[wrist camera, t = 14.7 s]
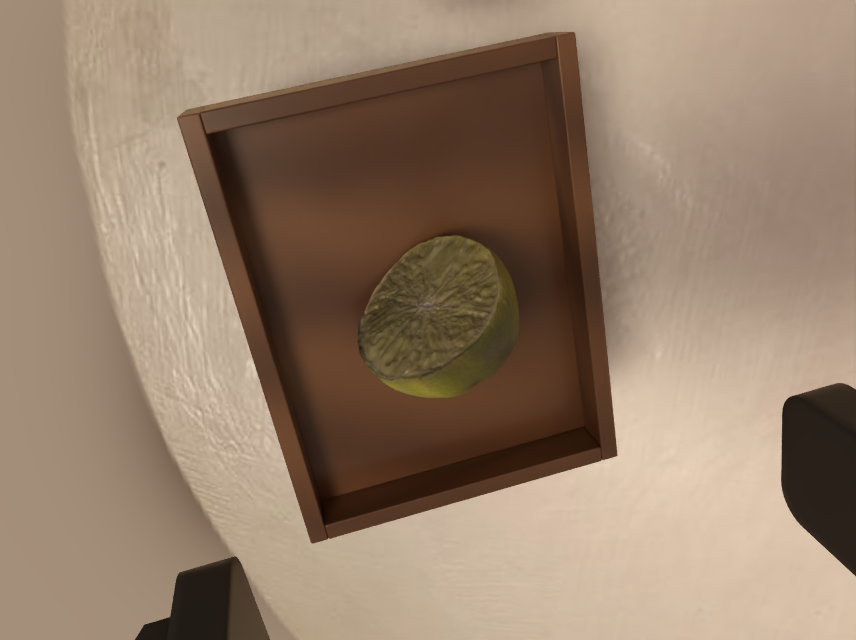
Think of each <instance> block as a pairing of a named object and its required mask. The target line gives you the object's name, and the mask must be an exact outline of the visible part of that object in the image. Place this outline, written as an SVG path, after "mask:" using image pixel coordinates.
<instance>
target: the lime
mask: <svg viewBox="0 0 856 640" xmlns="http://www.w3.org/2000/svg"><path fill="white" fill-rule="evenodd" d="M518 334H519V309H518V302H517V297H516V292H515V288H514V285H513V281H512V279H511V277H510V275H509V273H508V271H507V269H506V268H505V266H504V264H503V262H502V261H501V260H500V259H499V257H498V256H497V255H496V254H495V253H494V252H493V251H492V250H491V249H490V248H488V247H486V246H485V245H483V244H481V243H479V242H477V241H475V240H473V239H469V238H465V237H463V236H459V235H452V236H445V237H435V238H434V239H432V240H428V241H427V242H422V243H419V244H418V245H416V246H415V247H413V248H411V249H410V250H409V251H408V252H406V253H405V254H404V255H403V256H402V258H401V259H400V260H399V261H398V262H397V263H395V265H394V266H393V267H392V268H391V269H390V270H389V271H388V272H387V273H386V275H385V276H384V277H383V279H382V280H381V282H380V283H379V285H378V286H377V287H376V288H375V290H374V292H373V294H372V296H371V298H370V300H369V303H368V305H367V307H366V309H365V315H364V316H363V318H361V320H360V322H359V325H358V337H359V339H358V341H357V343H358V345H359V353H360V355H361V358H362V359H363V360H364V362H365V364H366V366H367V367H368V368H369V369H370V370H371V371H372V372H373V373H374V374H375V375H376V376H377V377H378V378H379V379H380V380H381V381H382V382H383V383H385V384H386V385H388V386H389V387H391V388H393V389H395V390H397V391H400V392H403V393H406V394H410V395H413V396H418V397H425V398H450V397H455V396H458V395H461V394H464V393H466V392H468V391H469V390H471V389H472V388H473V387H474V386H475V385H477V384H478V383H479V382H481V381H483V380H486V379H489V378H490V377H492V376H493V375H494V374H496V372H497V371H498V370H499V369H500V368H501V367H502V365H503V364H504V363H505V361H506V360H507V358H508V357H509V355H510V354H511V352H512V350H513V348H514V346H515V344H516V342H517V340H518Z"/></svg>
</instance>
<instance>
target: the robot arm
mask: <svg viewBox="0 0 856 640" xmlns="http://www.w3.org/2000/svg"><path fill="white" fill-rule="evenodd" d="M781 484H782V491H783V495H784V498H785V501H786V503H787V505H788V507H789V509H790V511H791V513H792V514H793V516H794V517H795V519H796V520H797V521H798V523H799V524H800V525H801V526H802V527H803V528H804V529H805V530H807V531H808V532H809V533H810V534H811V535H812V536H813V537H814V538H815V539H816V540H817V541H818V542H819V543H821V544H822V545H823V546H824V547H825V548H826V549H827V550H828V551H829V552H830V553H831V554H832V555H833V556H835V557H836V558H837V559H838V560H839V561H840V562H841V563H842V564H843V565H844V566H845V567H846V568H847V569H849V570H850V571H851V572H852V573H853V574H854V575H855V576H856V389H854V388H852V387H851V386H849V385H846V384H843V383H836V384H832V385H829V386H826V387H822V388H819V389H815V390H812V391H808V392H805V393H801V394H798V395H795V396H791V397H789V398H788V399H787V400H786V401H785V403H784V406H783V412H782V470H781ZM135 640H270V639H269V636H268V633H267V630H266V628H265V625H264V622H263V620H262V617H261V614H260V612H259V609H258V607H257V604H256V601H255V598H254V596H253V593H252V591H251V588H250V585H249V583H248V580H247V577H246V575H245V572H244V569H243V567H242V565H241V563H240V561H239V559H238V558H237V557H231V558H228V559H224V560H221V561H218V562H214V563H211V564H207V565H204V566H200V567H197V568H193V569H190V570H187V571H183V572H180V573H179V574H178V576H177V579H176V584H175V591H174V597H173V604H172V610H171V616H170V617H169V618H166V619H163V620H159V621H156V622H153V623H149V624H146V625H144V626H143V628H142V629H141V631H140V633H139V634H138V636H137V638H136V639H135Z"/></svg>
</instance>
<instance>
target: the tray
mask: <svg viewBox="0 0 856 640" xmlns="http://www.w3.org/2000/svg"><path fill="white" fill-rule="evenodd" d="M177 120H178V123H179V126H180V129H181V133H182V136H183V139H184V142H185V145H186V148H187V152H188V155H189V158H190V161H191V164H192V167H193V171H194V174H195V177H196V180H197V183H198V186H199V190H200V193H201V196H202V199H203V202H204V205H205V209H206V212H207V215H208V218H209V221H210V224H211V228H212V231H213V234H214V237H215V240H216V243H217V247H218V250H219V253H220V256H221V259H222V262H223V266H224V269H225V272H226V275H227V278H228V281H229V285H230V288H231V291H232V294H233V297H234V300H235V304H236V307H237V310H238V313H239V316H240V319H241V323H242V326H243V329H244V332H245V335H246V338H247V342H248V345H249V348H250V351H251V354H252V357H253V361H254V364H255V367H256V370H257V373H258V376H259V379H260V383H261V386H262V389H263V392H264V395H265V398H266V402H267V405H268V408H269V411H270V414H271V417H272V421H273V424H274V427H275V430H276V433H277V436H278V440H279V443H280V446H281V449H282V452H283V455H284V459H285V462H286V465H287V468H288V471H289V474H290V478H291V481H292V484H293V487H294V490H295V493H296V497H297V500H298V503H299V506H300V509H301V512H302V516H303V519H304V522H305V525H306V528H307V531H308V535H309V538H310V541H311V543H316V542H320V541H323V540H327V539H328V538H329V539H330V538H334V537H337V536H341V535H344V534H348V533H351V532H355V531H358V530H362V529H365V528H369V527H372V526H376V525H379V524H383V523H386V522H390V521H393V520H397V519H400V518H403V517H407V516H410V515H414V514H417V513H421V512H424V511H428V510H431V509H435V508H438V507H442V506H445V505H449V504H452V503H456V502H459V501H463V500H466V499H470V498H473V497H477V496H480V495H484V494H487V493H491V492H494V491H498V490H501V489H504V488H508V487H511V486H515V485H518V484H522V483H525V482H529V481H532V480H536V479H539V478H543V477H546V476H550V475H553V474H557V473H560V472H564V471H567V470H571V469H574V468H578V467H581V466H585V465H588V464H592V463H595V462H599V461H601V460H605V459H609V458H612V457H616V456H617V446H616V436H615V426H614V416H613V406H612V396H611V386H610V376H609V366H608V356H607V346H606V336H605V326H604V317H603V307H602V297H601V287H600V277H599V267H598V257H597V247H596V237H595V227H594V217H593V207H592V197H591V187H590V177H589V167H588V157H587V147H586V137H585V127H584V117H583V107H582V97H581V87H580V77H579V67H578V57H577V47H576V37H575V33H574V32H555V33H554V32H553V33H544V34H539V35H534V36H530V37H525V38H520V39H516V40H511V41H506V42H502V43H497V44H492V45H488V46H483V47H478V48H474V49H469V50H464V51H459V52H455V53H450V54H445V55H441V56H436V57H431V58H427V59H422V60H417V61H413V62H408V63H403V64H399V65H394V66H389V67H384V68H380V69H375V70H370V71H366V72H361V73H356V74H352V75H347V76H342V77H338V78H333V79H328V80H324V81H319V82H314V83H310V84H305V85H300V86H295V87H291V88H286V89H281V90H277V91H272V92H267V93H263V94H258V95H253V96H249V97H244V98H239V99H235V100H230V101H225V102H220V103H216V104H211V105H206V106H202V107H197V108H192V109H188V110H186V111H185V112H183V113H182V114H181V115H180V116H179V117H177ZM452 235H459V236H463V237H465V238H469V239H473V240H475V241H477V242H479V243H481V244H483V245H485V246H486V247H488V248H490V249H491V250H492V251H493V252H494V253H495V254H496V255H497V256H498V257H499V259H500V260H501V261H502V262H503V264H504V266H505V268H506V269H507V271H508V273H509V275H510V277H511V279H512V281H513V285H514V288H515V292H516V297H517V302H518V309H519V334H518V340H517V342H516V344H515V346H514V348H513V350H512V352H511V354H510V355H509V357H508V358H507V360H506V361H505V363H504V364H503V365H502V367H501V368H500V369H499V370H498V371H497V372H496V374H494V375H493V376H492V377H490V378H489V379H486V380H483V381H481V382H479V383H478V384H477V385H475V386H474V387H473V388H472V389H471V390H469V391H468V392H466V393H464V394H461V395H458V396H455V397H450V398H425V397H418V396H413V395H410V394H406V393H403V392H400V391H397V390H395V389H393V388H391V387H389V386H388V385H386V384H385V383H383V382H382V381H381V380H380V379H379V378H378V377H377V376H376V375H375V374H374V373H373V372H372V371H371V370H370V369H369V368H368V367H367V366H366V364H365V362H364V360H363V359H362V358H361V355H360V353H359V345H358V343H357V341H358V339H359V337H358V325H359V322H360V320H361V318H363V316H364V315H365V309H366V307H367V305H368V303H369V300H370V298H371V296H372V294H373V292H374V290H375V288H376V287H377V286H378V285H379V283H380V282H381V280H382V279H383V277H384V276H385V275H386V273H387V272H388V271H389V270H390V269H391V268H392V267H393V266H394V265H395V263H397V262H398V261H399V260H400V259H401V258H402V256H403V255H404V254H405V253H406V252H408V251H409V250H410V249H411V248H413V247H415V246H416V245H418V244H419V243H422V242H427V241H428V240H432V239H434V238H435V237H445V236H452Z"/></svg>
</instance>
